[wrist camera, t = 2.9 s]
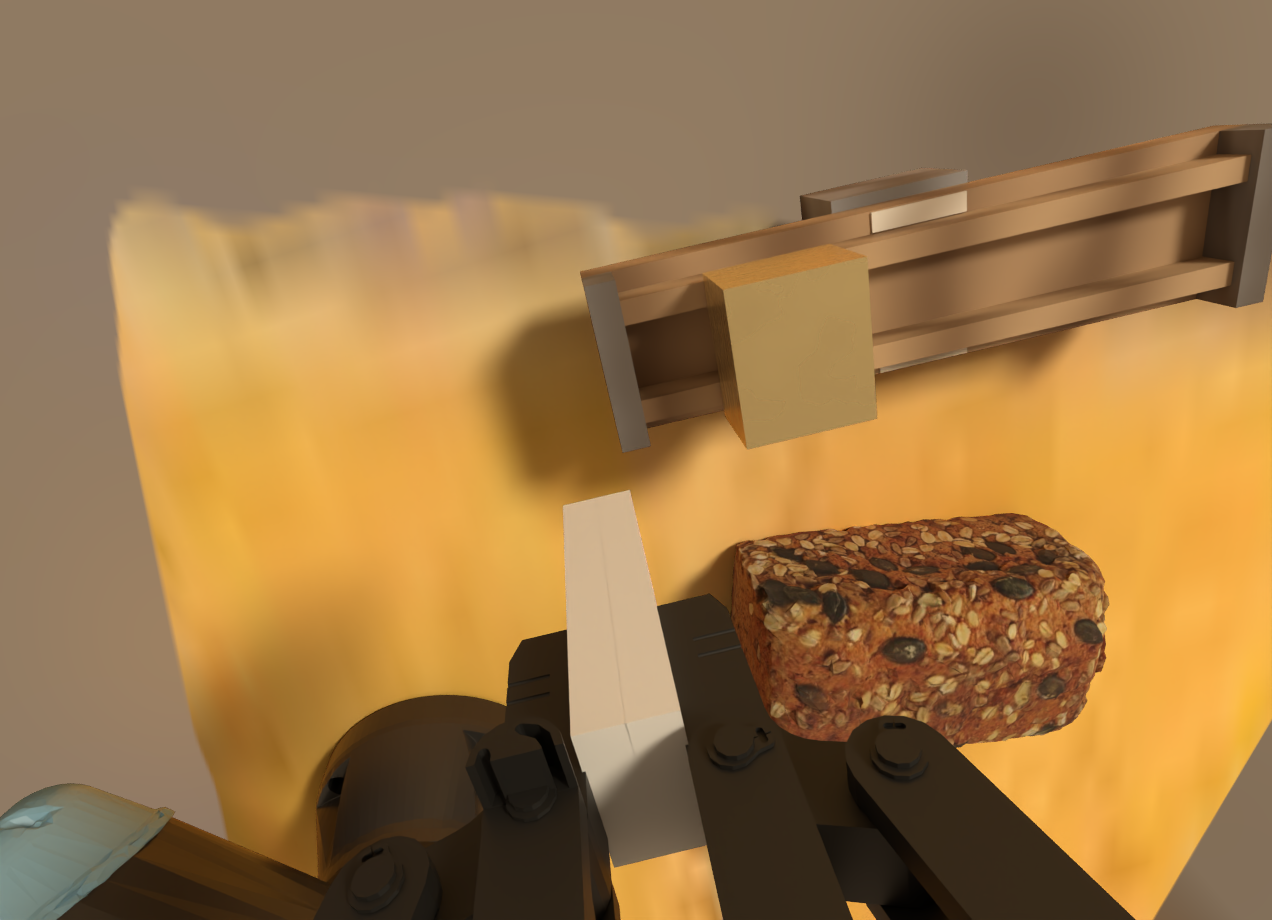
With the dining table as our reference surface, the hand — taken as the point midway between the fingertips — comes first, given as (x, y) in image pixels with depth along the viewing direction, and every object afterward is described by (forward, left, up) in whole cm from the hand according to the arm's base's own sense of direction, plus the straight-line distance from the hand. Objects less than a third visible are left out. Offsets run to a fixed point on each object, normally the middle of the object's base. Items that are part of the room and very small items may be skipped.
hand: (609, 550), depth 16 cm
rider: (+8, 0, -15) cm, 17 cm away
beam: (+15, 0, -21) cm, 26 cm away
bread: (+14, -20, -21) cm, 32 cm away
